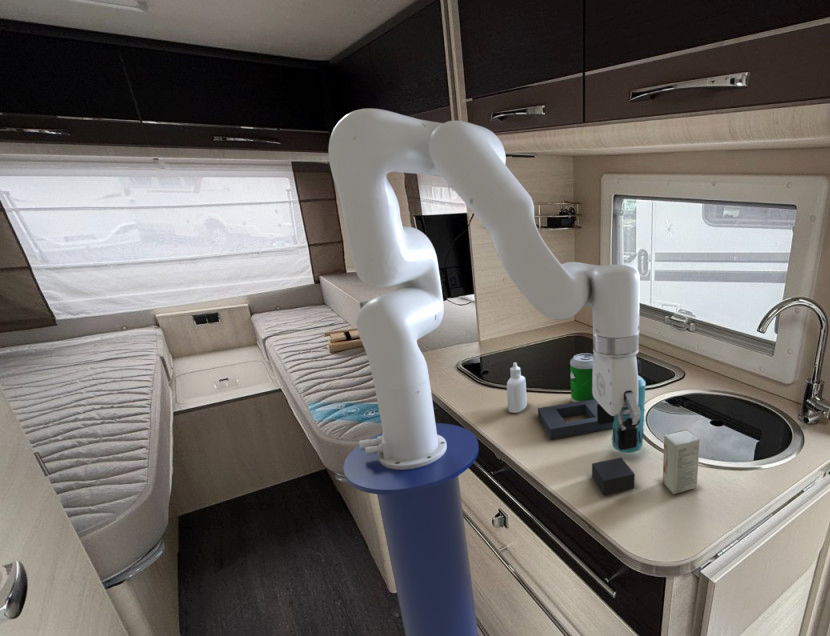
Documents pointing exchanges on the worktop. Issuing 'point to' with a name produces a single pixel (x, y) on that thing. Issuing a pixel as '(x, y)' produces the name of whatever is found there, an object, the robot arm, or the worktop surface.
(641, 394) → the beverage bottle
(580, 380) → the soda can
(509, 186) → the robot arm
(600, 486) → the black block
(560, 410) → the socket block
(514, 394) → the eye dropper bottle
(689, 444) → the medicine box
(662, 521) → the worktop surface
